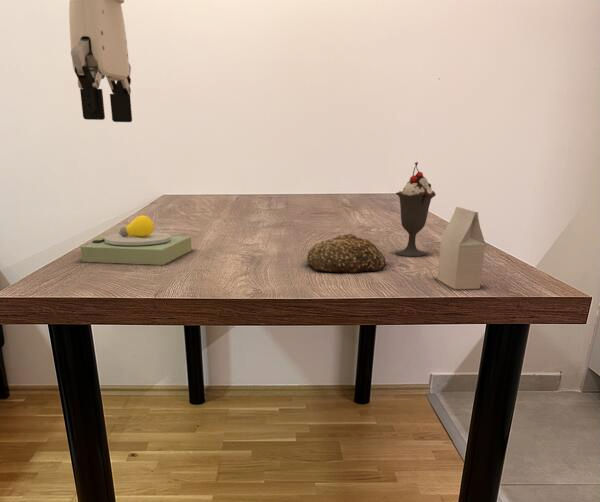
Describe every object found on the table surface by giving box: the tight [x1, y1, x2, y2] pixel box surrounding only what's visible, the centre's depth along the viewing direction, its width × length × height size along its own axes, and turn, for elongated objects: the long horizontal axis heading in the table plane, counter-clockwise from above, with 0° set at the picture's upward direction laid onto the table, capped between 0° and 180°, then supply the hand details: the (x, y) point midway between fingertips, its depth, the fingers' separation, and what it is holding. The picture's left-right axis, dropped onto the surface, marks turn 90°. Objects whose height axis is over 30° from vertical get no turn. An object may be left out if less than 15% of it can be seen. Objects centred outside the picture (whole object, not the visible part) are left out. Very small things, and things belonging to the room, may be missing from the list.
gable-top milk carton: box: [436, 206, 486, 290], centre depth 88 cm, size 4×7×10 cm, turn 9°
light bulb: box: [118, 215, 155, 237], centre depth 107 cm, size 3×6×4 cm, turn 90°
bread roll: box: [306, 233, 387, 274], centre depth 101 cm, size 13×12×5 cm
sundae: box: [395, 161, 437, 257], centre depth 109 cm, size 7×7×15 cm
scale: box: [80, 231, 193, 266], centre depth 109 cm, size 14×14×3 cm
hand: (108, 120), depth 98 cm, fingers open, 9 cm apart
